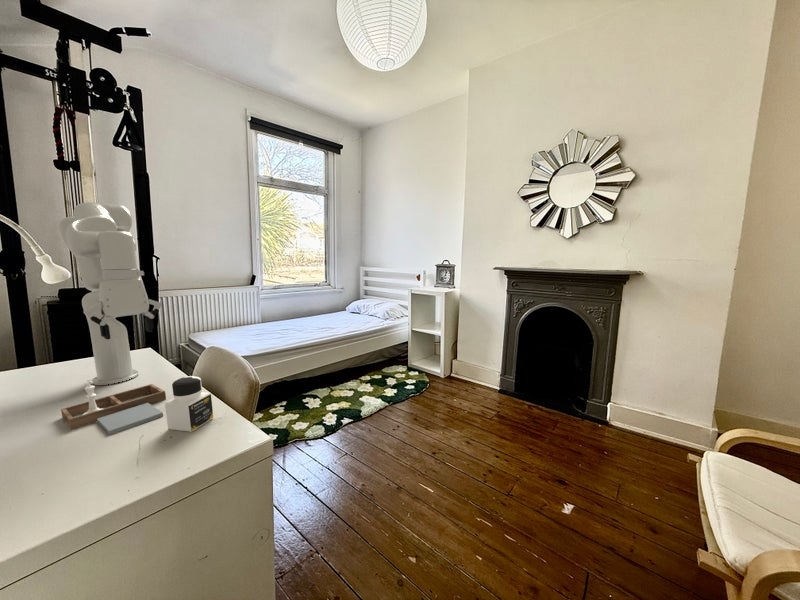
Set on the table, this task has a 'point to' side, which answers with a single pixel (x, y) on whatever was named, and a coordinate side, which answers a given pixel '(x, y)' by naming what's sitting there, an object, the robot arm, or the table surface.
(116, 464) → the table surface
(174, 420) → the medicine bottle
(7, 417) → the table surface
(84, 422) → the bay frame
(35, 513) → the table surface
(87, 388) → the chess piece
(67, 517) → the table surface
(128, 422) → the pad
